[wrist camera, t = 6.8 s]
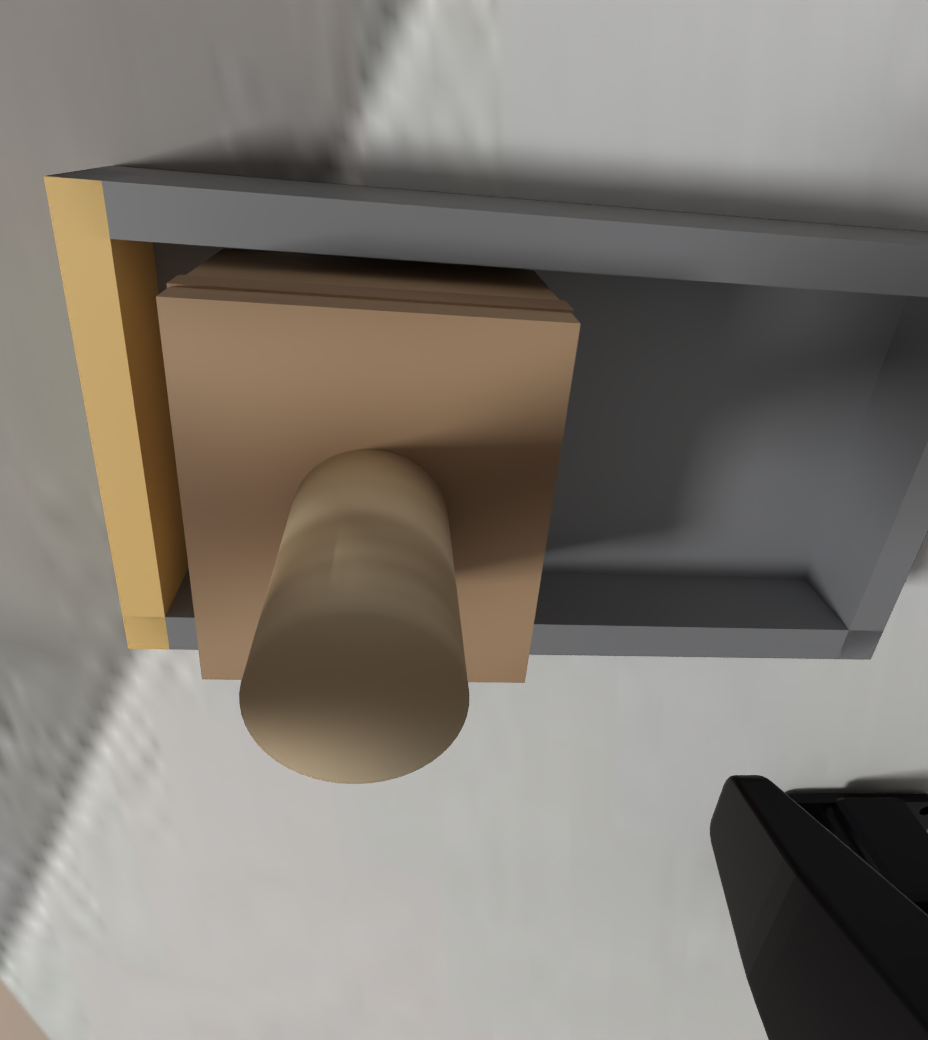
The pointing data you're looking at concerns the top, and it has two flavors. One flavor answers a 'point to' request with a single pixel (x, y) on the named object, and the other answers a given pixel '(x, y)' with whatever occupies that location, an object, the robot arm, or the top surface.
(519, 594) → the tan block with peg
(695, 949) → the top surface
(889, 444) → the bay
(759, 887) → the robot arm
